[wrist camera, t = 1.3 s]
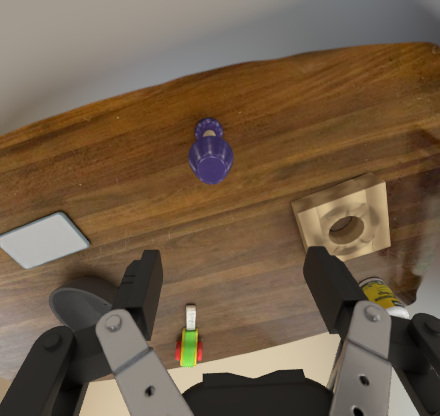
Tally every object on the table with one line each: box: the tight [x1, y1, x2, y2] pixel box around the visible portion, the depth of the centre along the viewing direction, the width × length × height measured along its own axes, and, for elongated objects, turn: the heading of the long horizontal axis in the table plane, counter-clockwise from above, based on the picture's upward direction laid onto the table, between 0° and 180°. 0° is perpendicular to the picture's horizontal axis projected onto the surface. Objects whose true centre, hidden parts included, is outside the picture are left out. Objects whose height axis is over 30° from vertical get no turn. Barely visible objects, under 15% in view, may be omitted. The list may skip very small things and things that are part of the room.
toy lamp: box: [189, 118, 233, 184], centre depth 30 cm, size 5×5×17 cm
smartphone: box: [0, 212, 90, 269], centre depth 45 cm, size 8×1×15 cm
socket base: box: [291, 172, 390, 261], centre depth 44 cm, size 14×14×4 cm
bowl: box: [49, 277, 118, 332], centre depth 51 cm, size 12×22×6 cm, turn 24°
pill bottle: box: [359, 278, 409, 319], centre depth 51 cm, size 6×6×11 cm
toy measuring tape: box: [175, 305, 203, 367], centre depth 58 cm, size 6×20×7 cm, turn 175°
